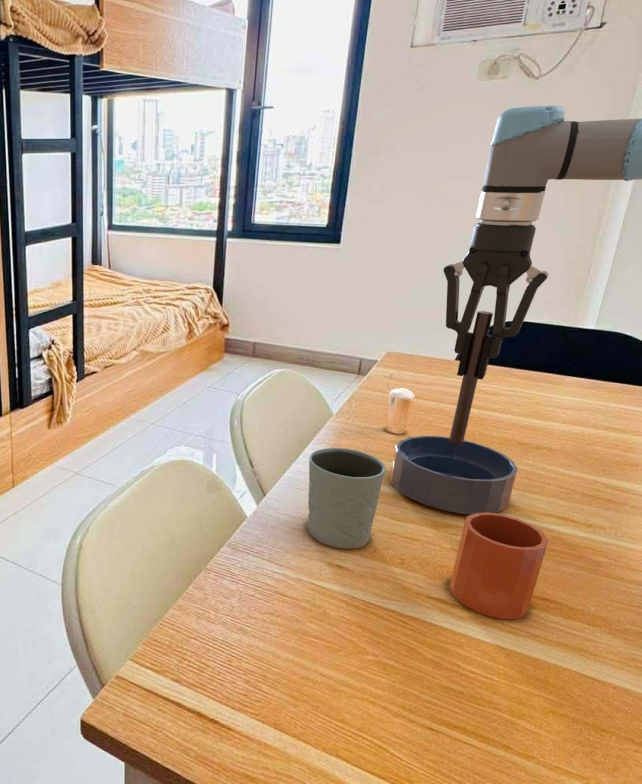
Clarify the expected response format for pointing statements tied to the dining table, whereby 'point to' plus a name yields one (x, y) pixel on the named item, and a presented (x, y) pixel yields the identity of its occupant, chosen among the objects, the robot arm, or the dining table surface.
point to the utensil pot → (497, 565)
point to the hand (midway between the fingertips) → (471, 375)
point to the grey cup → (343, 496)
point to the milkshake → (399, 409)
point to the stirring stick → (470, 377)
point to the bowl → (453, 474)
